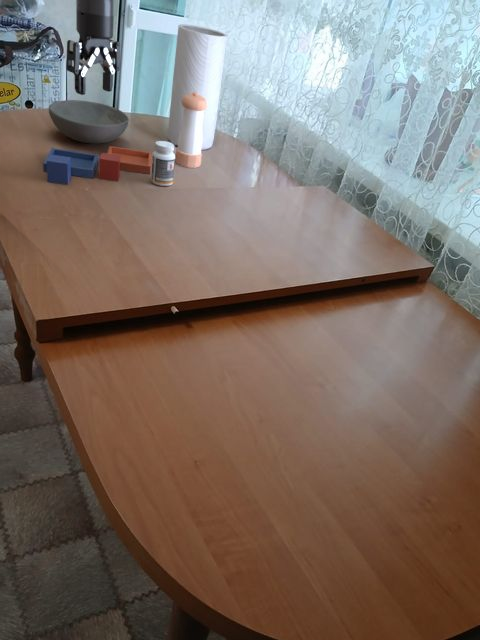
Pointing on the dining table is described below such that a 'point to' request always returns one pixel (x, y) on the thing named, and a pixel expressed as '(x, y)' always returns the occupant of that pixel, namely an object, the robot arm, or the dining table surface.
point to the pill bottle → (163, 164)
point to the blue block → (58, 169)
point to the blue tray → (77, 162)
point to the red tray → (132, 159)
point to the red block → (109, 167)
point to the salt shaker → (191, 131)
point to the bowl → (88, 121)
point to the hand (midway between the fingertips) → (94, 92)
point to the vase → (197, 77)
